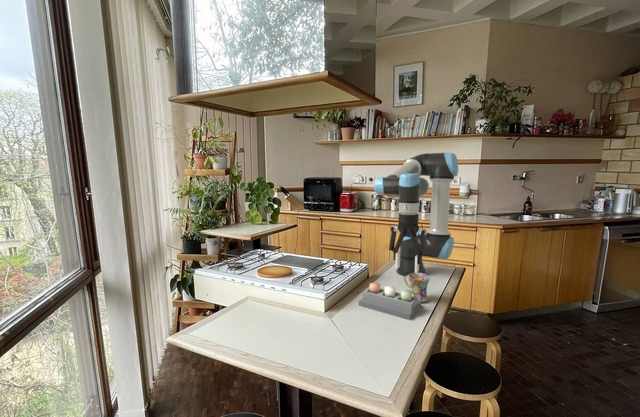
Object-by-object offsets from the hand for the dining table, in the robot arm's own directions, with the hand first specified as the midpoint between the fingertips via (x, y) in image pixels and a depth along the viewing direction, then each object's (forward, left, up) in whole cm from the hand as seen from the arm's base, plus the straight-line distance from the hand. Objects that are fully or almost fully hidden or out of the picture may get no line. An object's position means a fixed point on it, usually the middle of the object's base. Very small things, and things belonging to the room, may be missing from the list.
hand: (406, 269), depth 123 cm
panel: (0, -7, -17) cm, 18 cm away
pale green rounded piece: (0, 0, -13) cm, 13 cm away
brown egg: (0, -14, -13) cm, 19 cm away
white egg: (0, -7, -13) cm, 15 cm away
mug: (-13, 0, -17) cm, 22 cm away
